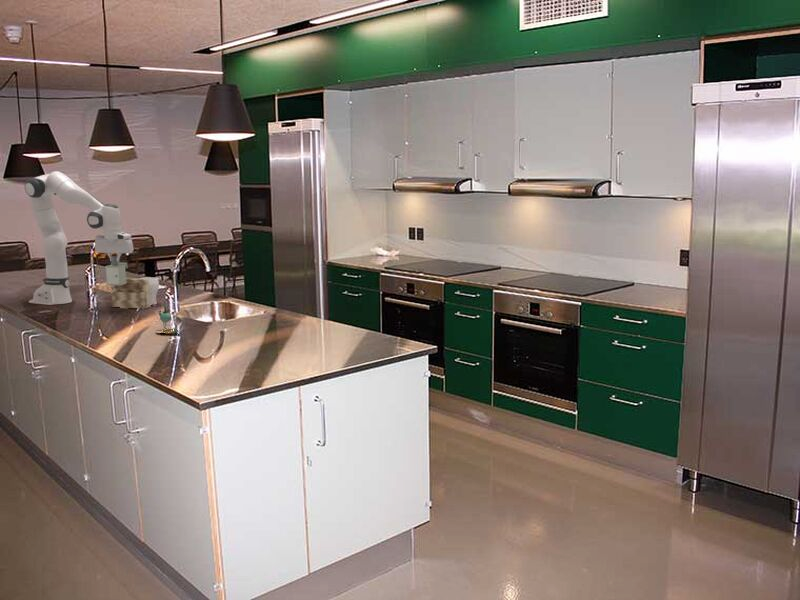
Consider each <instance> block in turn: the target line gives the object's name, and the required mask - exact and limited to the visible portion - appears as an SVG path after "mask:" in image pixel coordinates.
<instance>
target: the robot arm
mask: <svg viewBox="0 0 800 600" xmlns="http://www.w3.org/2000/svg"><path fill="white" fill-rule="evenodd" d="M24 190H25V193H26V194H27V195H28V196H29V200H30V201H29V202H30V205H31V206H30V207H31V210H32V213H33V215H34V219H35V222H36V224H37V226H38V228H39V230H40V233H41V234H42V237H43V238H44V239H43V243H42V245H43V246H42V247H43V255H44V261H45V276H46V277H44V278H42V279H41V281H42V282H43V284H42V285H40V286H39V287H38V288H37V289H36V290H34V292H33V297H32V299H29V300H28V303H30V304H37V305H47V306H48V305H49V306H51V305H52V306H53V305H63V304H69V303H72V302H73V299H72V296H71V291H70V278H69V272H68V271H69V270H68V267H69V266H68V260H67V254H66V253H67V251H66V248H67V247H68V239H67V236H66V234H65V230H64V228H63V226H62V224H61V222H60V219H59V216H58V214H57V211H56V208H55V205H54V203H53V200H52V197H53V195H55V196H57V197H58V198H60V199H61V200H62V201H63V202H65V203H67V204H72V205H81V206H84V207H87V208H89V209H90V210H91V211H89V213H88V214H87V216H86V222H87V224H88V226H89V227H90V228H91V229H94V230H95V229H96V230H99V229H103V234H102V235H100V234H97V235H96V236H95V237H94V242H95V243H94V252H96V253H97V254H107V256H108V258H109V261H110V263H112V256H113V254H116V256H117V258H115V261H116V262H120V257H121V256H122V254H133V252H134V244H133V240H132V235H131V234H130V233H126V232H124V231H123V230H122V226H121V224H122V218H121V217H122V216H121V210H120V207H119V206H118V205H116V204H111V203H110V204H109V203H106V204H104V203H103V202H102V201H100V200H99V199H98V198H96V197H95V196H94V195H93V194H91V193H90V192H87V191H86V190H84V189H83V188H82V187H80V186H79V185H78V184H77V183H76V182H74V181H73V179H71V178H70V177H68V175H66V174H65V173H63V172H61V171H58V170H57V171H56V170H55V171H52V172H50V173H47V174H40V175H39V176H35V177H32V178H30V179H27V180H26V181H25V183H24Z"/></svg>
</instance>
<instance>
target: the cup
mask: <svg viewBox="0 0 800 600" xmlns="http://www.w3.org/2000/svg"><path fill="white" fill-rule="evenodd" d="M139 279H148V284H149V305H152V304H157V294H158V292H159V288H160V281H159V278H158V277H151V276H149V277H147V276H146V277H140V278H139ZM157 305H158V304H157Z"/></svg>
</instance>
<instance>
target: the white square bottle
mask: <svg viewBox="0 0 800 600" xmlns="http://www.w3.org/2000/svg"><path fill="white" fill-rule="evenodd" d="M117 256H118V255H112V262H110V265H105V266H104V268H105V283H106V285H107V286H113V285H123V284H126V278H127V274H126V269H128V262H120V261H119V262H116V261H115V258H117Z"/></svg>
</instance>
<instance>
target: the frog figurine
mask: <svg viewBox="0 0 800 600" xmlns="http://www.w3.org/2000/svg"><path fill="white" fill-rule="evenodd" d="M163 308H164V311H161V310H159V311H158V313H157V314H158V316H159V317H156V319H157V320H156V321H155V323H157V322H158V323H159V322H160V321H161V322H162V327H163V329H162V330H163V332H161V333H164V332H165V334H172V333H173V334H174V333H176V332H179V333H180V331H179V329H178V327H177V326H176V323H175V321H174V320H175V319H174V317H171V310H170V309H167V304H164V306H163ZM171 320H172V322H171V324H173V323H174V324H173V325H175V326H174V327H173V328H172V329H169V327H167V326H169V324H168V322H170V321H171ZM167 328H168V329H167ZM164 329H166V330H164ZM173 329H174V331H176V332H174V331H173ZM156 330H157V331H162V330H161V329H156ZM171 330H172V331H171ZM168 332H169V333H168Z"/></svg>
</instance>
